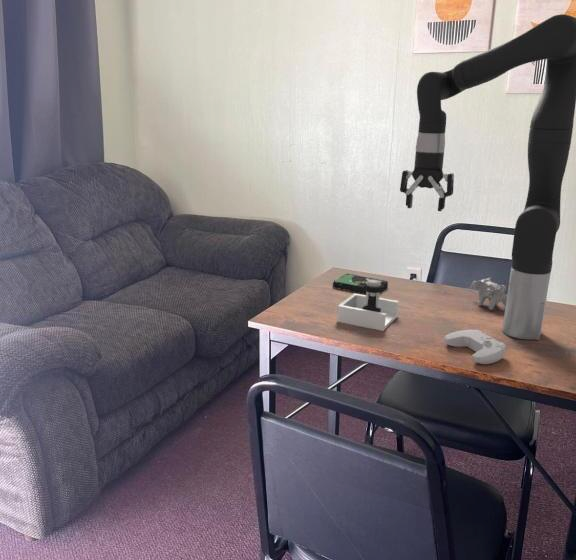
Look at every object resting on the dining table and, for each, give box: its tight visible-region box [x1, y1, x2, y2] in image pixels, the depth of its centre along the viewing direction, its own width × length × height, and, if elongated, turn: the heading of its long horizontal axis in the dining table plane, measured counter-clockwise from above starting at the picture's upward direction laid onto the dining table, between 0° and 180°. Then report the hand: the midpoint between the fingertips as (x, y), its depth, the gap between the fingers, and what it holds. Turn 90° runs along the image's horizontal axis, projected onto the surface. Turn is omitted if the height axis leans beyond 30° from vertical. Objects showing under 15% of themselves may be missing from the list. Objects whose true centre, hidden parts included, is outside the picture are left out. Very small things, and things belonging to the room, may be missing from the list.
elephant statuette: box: [469, 276, 507, 311], centre depth 165 cm, size 9×12×8 cm
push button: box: [359, 278, 384, 313], centre depth 151 cm, size 7×5×10 cm
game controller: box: [444, 329, 507, 365], centre depth 133 cm, size 14×4×10 cm
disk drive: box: [332, 273, 389, 295], centre depth 179 cm, size 10×3×15 cm
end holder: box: [336, 292, 399, 332], centre depth 152 cm, size 13×12×4 cm
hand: (424, 209), depth 157 cm, fingers open, 8 cm apart
